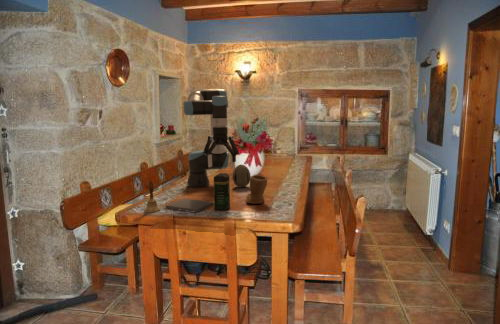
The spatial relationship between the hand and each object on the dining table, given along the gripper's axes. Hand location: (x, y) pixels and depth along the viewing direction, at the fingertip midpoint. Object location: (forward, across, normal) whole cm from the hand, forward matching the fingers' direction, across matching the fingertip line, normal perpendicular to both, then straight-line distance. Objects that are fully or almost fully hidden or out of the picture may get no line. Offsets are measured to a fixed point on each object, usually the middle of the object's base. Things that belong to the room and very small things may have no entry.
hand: (221, 167), depth 198 cm
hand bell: (+22, -32, -18) cm, 43 cm away
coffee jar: (+22, 0, 0) cm, 22 cm away
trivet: (+22, -18, -4) cm, 29 cm away
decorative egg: (+22, -14, +48) cm, 55 cm away
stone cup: (+22, +11, +19) cm, 31 cm away
